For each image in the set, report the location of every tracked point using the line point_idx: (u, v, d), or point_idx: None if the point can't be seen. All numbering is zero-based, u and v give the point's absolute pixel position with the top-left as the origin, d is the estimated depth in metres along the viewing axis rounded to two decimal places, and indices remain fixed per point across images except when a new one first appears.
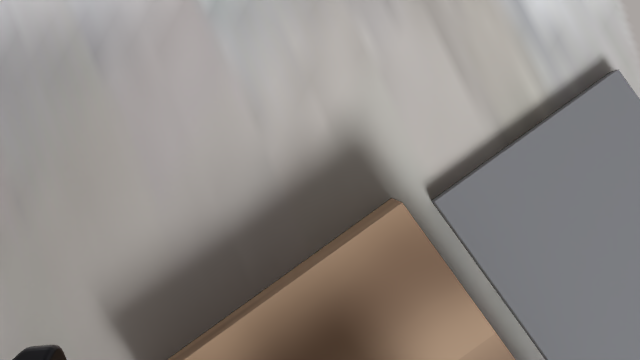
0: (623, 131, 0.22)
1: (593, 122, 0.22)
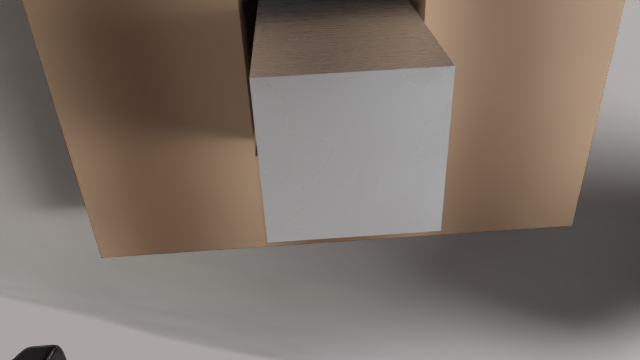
0: None
1: None
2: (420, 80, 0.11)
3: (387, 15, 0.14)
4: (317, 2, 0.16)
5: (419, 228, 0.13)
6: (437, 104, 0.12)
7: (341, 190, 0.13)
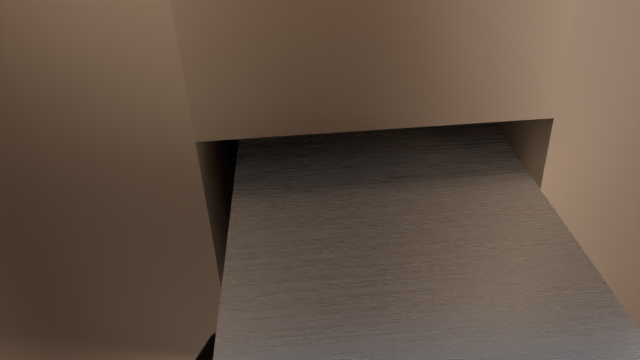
0: None
1: None
2: None
3: (492, 210, 0.07)
4: (346, 157, 0.08)
5: None
6: None
7: None
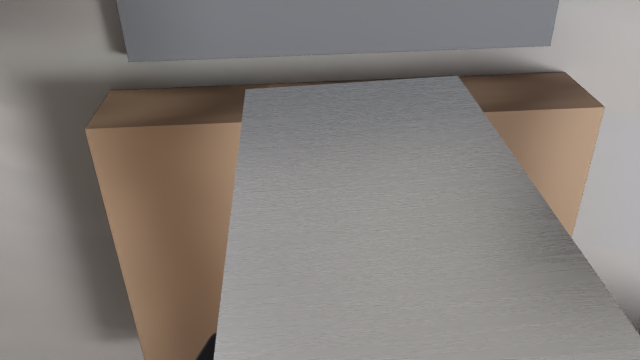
0: None
1: None
2: None
3: (492, 213, 0.07)
4: (346, 160, 0.08)
5: None
6: None
7: None
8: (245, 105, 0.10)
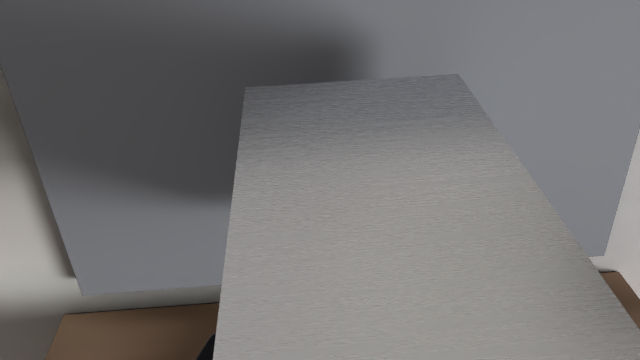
0: (88, 9, 0.11)
1: (51, 49, 0.12)
2: None
3: (493, 211, 0.07)
4: (346, 158, 0.08)
5: None
6: None
7: None
8: (245, 103, 0.10)
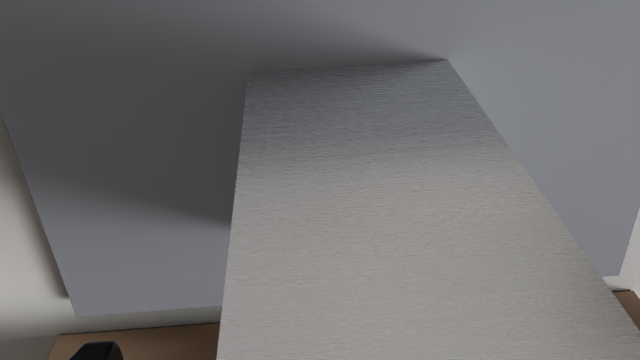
0: (81, 22, 0.11)
1: (41, 64, 0.11)
2: None
3: (474, 177, 0.08)
4: (342, 132, 0.09)
5: None
6: None
7: None
8: (248, 85, 0.11)
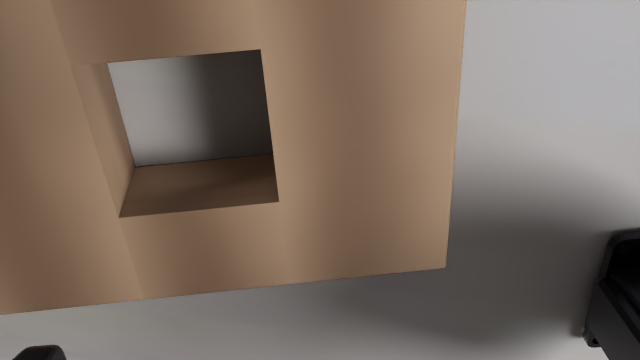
0: None
1: None
2: None
3: None
4: None
5: None
6: None
7: None
8: None
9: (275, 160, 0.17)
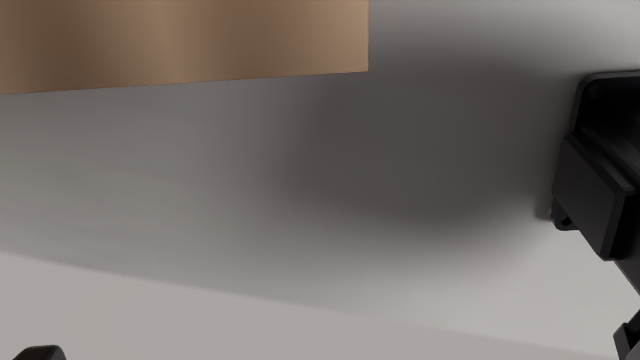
0: None
1: None
2: None
3: None
4: None
5: None
6: None
7: None
8: None
9: None
